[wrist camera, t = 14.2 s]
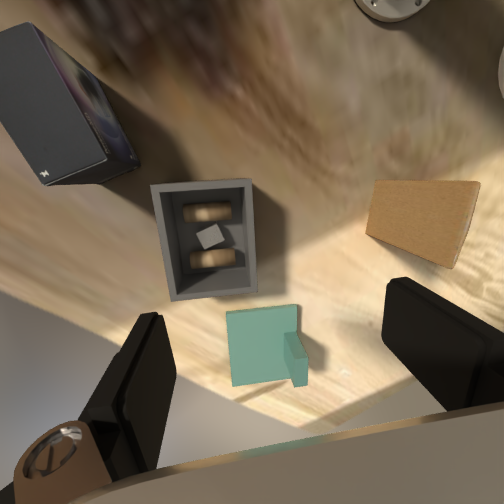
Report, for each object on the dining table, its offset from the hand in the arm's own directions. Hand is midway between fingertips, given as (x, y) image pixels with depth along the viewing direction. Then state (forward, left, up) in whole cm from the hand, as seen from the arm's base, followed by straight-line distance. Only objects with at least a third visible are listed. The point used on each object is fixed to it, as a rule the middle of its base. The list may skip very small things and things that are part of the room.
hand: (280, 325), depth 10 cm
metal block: (+4, +2, -25) cm, 25 cm away
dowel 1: (+4, -2, -25) cm, 25 cm away
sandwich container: (-28, +1, -26) cm, 38 cm away
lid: (-3, +21, -25) cm, 33 cm away
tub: (+4, +1, -26) cm, 26 cm away
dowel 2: (+4, +5, -25) cm, 26 cm away
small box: (+16, -12, -26) cm, 33 cm away
